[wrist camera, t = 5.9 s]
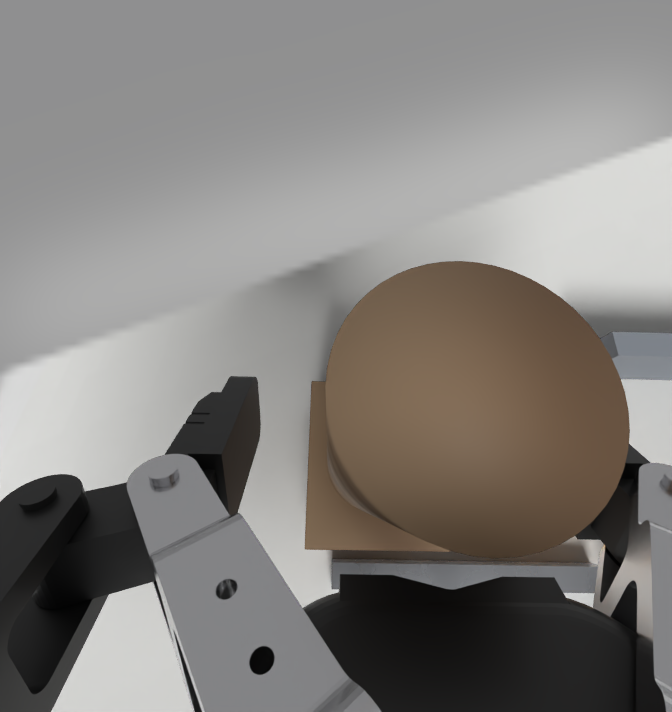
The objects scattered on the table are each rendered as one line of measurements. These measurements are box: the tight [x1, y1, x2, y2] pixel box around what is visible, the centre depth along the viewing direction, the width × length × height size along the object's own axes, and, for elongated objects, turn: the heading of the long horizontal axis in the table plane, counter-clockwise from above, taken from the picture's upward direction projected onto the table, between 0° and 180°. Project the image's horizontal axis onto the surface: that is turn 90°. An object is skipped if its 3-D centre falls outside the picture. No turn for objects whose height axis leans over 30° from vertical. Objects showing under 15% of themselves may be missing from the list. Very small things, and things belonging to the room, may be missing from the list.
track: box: [331, 559, 598, 593], centre depth 18 cm, size 12×10×1 cm
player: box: [305, 261, 630, 558], centre depth 11 cm, size 5×6×15 cm
